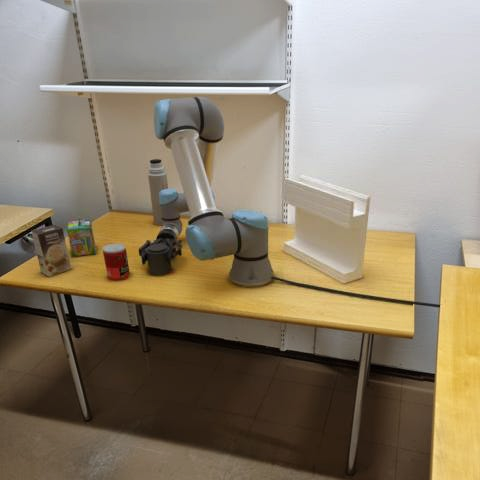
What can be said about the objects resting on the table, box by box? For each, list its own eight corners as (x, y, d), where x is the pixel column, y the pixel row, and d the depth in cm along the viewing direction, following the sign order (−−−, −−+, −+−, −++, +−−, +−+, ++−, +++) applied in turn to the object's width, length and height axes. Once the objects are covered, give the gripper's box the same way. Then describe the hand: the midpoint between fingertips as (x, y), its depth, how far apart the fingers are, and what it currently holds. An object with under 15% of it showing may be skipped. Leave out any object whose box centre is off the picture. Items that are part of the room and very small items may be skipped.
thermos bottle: (175, 221, 221) (168, 158, 207) (164, 226, 215) (156, 162, 201) (161, 219, 224) (154, 157, 210) (150, 224, 219) (142, 160, 205)
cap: (177, 270, 173) (174, 246, 168) (157, 278, 168) (153, 253, 164) (163, 264, 179) (160, 240, 174) (143, 271, 174) (140, 247, 169)
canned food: (125, 281, 167) (120, 252, 161) (103, 280, 168) (98, 250, 163) (133, 272, 173) (129, 243, 168) (113, 271, 175) (108, 242, 169)
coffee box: (48, 277, 172) (37, 234, 164) (40, 272, 176) (29, 230, 168) (72, 269, 177) (62, 227, 169) (64, 264, 181) (54, 223, 173)
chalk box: (72, 248, 195) (65, 213, 187) (96, 246, 197) (89, 211, 189) (71, 257, 187) (63, 220, 180) (96, 254, 189) (88, 218, 182)
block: (361, 277, 164) (370, 196, 149) (343, 283, 160) (350, 201, 146) (299, 246, 190) (302, 174, 176) (283, 250, 186) (284, 178, 172)
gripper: (195, 246, 187) (186, 270, 168) (142, 246, 188) (127, 270, 169) (193, 227, 183) (185, 250, 164) (139, 228, 185) (124, 251, 165)
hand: (155, 260), depth 166 cm, fingers closed on cap, 8 cm apart
